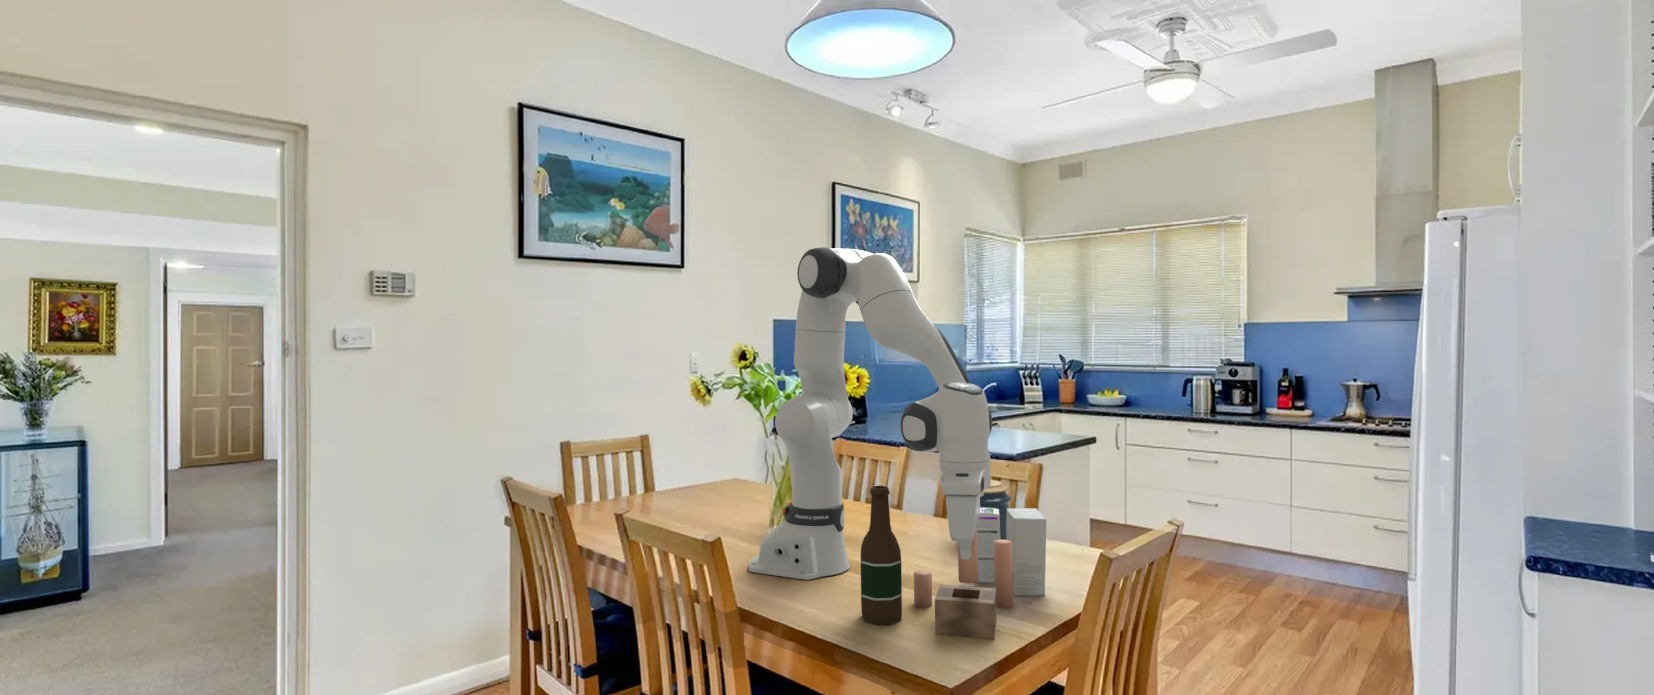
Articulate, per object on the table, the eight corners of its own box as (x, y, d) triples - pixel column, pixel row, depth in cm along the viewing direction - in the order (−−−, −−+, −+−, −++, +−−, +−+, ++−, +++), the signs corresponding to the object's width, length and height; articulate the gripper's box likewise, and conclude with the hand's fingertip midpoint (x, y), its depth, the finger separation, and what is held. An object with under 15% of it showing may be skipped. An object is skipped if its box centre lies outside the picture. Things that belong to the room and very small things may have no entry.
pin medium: (957, 583, 132) (956, 531, 132) (959, 577, 136) (958, 526, 136) (977, 584, 131) (976, 532, 131) (978, 578, 135) (977, 527, 135)
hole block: (935, 633, 131) (934, 599, 131) (940, 617, 139) (940, 584, 139) (994, 639, 129) (993, 603, 129) (996, 621, 136) (996, 588, 136)
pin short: (913, 606, 145) (912, 575, 144) (915, 600, 148) (915, 569, 148) (930, 608, 144) (930, 576, 144) (933, 601, 147) (932, 571, 147)
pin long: (994, 607, 144) (993, 543, 143) (995, 601, 147) (994, 539, 147) (1012, 608, 143) (1011, 544, 143) (1013, 602, 146) (1012, 540, 146)
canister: (978, 535, 195) (978, 466, 195) (1022, 545, 186) (1021, 472, 185) (946, 545, 186) (945, 473, 186) (991, 556, 177) (990, 480, 176)
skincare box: (1005, 582, 158) (1004, 507, 157) (1037, 582, 157) (1036, 507, 157) (1014, 596, 149) (1013, 517, 149) (1047, 596, 149) (1047, 517, 149)
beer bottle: (872, 629, 134) (870, 493, 134) (853, 614, 141) (851, 485, 141) (910, 621, 137) (909, 488, 137) (890, 607, 144) (888, 481, 144)
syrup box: (1001, 583, 157) (1000, 513, 157) (972, 582, 158) (971, 512, 158) (1001, 575, 163) (1000, 507, 162) (972, 574, 164) (972, 506, 163)
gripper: (952, 465, 144) (954, 538, 144) (940, 486, 124) (942, 570, 125) (986, 466, 143) (988, 539, 143) (979, 487, 123) (982, 572, 123)
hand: (967, 554), depth 133 cm, fingers closed on pin medium, 3 cm apart
